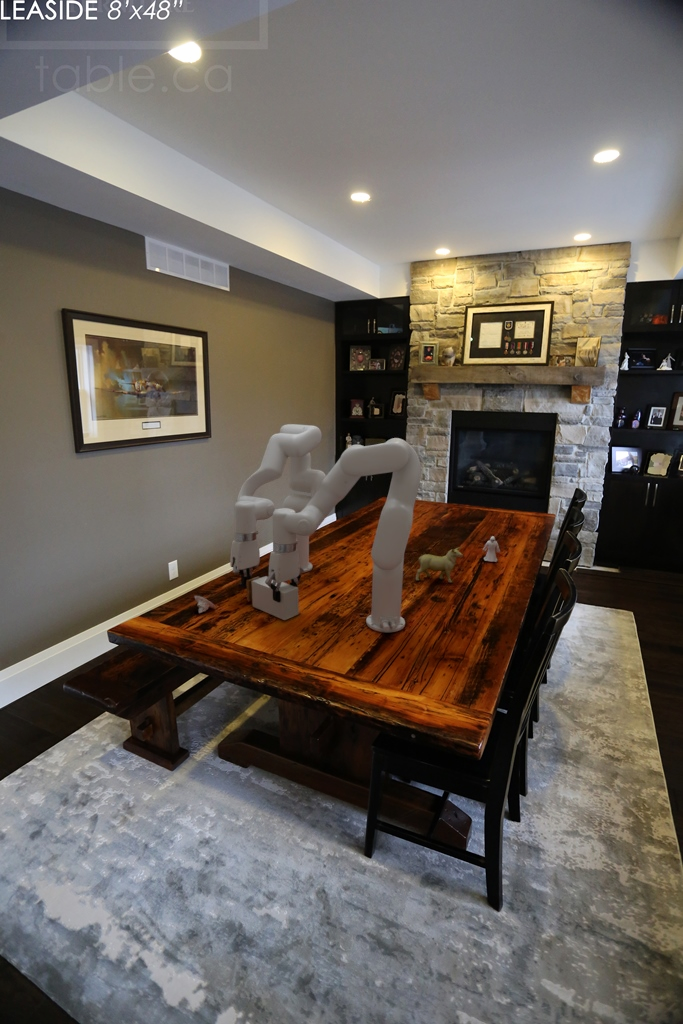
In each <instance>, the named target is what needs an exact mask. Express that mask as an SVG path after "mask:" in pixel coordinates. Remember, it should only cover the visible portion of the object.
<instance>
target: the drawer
mask: <svg viewBox="0 0 683 1024" xmlns="http://www.w3.org/2000/svg"><path fill="white" fill-rule="evenodd" d="M259 578H261V577H260V576H256V577H253V578H252V577H251V579H249V580H246V584H247V587H246V586H243V585H242V583H241V582H240V583H238V585H237V586H238V587H239V588H243V589H246V601H247V602H252V581H253V580H256V579H259Z"/></svg>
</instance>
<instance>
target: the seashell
mask: <svg viewBox="0 0 683 1024" xmlns="http://www.w3.org/2000/svg"><path fill="white" fill-rule="evenodd" d="M193 598H194V601H195V602H196V603H197V605H196V606H197V607H198V609H197V610H198V611H197V612H198V614H201V613H205V612H206V611H207V610H209V608H210V609H213V610H216V609H217V607H216V604H214V603H213V601H210V600H209V599H207V598H206V597H204V596H201V595H194V596H193Z"/></svg>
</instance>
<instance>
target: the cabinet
mask: <svg viewBox="0 0 683 1024" xmlns="http://www.w3.org/2000/svg"><path fill="white" fill-rule="evenodd" d="M267 578H268V576H267V575H265V576H262V577H260V578H259V579H256V580H253V581H252V601H251V603H252V607H253V608H255V609H256V610H257V609H258V610H259V611H263V612H265V613H267V614H269V615H272V616H273V617H276V618H278V619H281V620H282V621H286V620H289V619H292V618H293V617H296V616H299V614H300V607H299V606H300V604H299V603H300V601H299V598H300V597H299V587H298V586H297V587H295V586H292V585H290V583H287V582H282V583H281V585H280V588H279V591H280V594H281V601H280V602H276V601H274V600H273V590H272V589H271V588H270V587H269V586H268V585H267V584H266V583H265V581H266V579H267ZM272 582H273V580H272V581H271V583H272ZM276 585H277V583H276ZM276 585H275V586H276Z"/></svg>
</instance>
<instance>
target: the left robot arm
mask: <svg viewBox="0 0 683 1024" xmlns="http://www.w3.org/2000/svg"><path fill="white" fill-rule="evenodd" d="M322 435H323V433H322V430H321V429H320V427H318V426H316V425H310V424H298V423H297V424H296V423H295V424H293V423H288V424H283V425H282V426H281V427H280V429H279V432H278V433H274V434H272V435H271V436H270V438H269V439H268V442H267V446H266V448H265V451H264V454H263V457H262V460H261V463H260V466H259V468H258V469H257V470H256V471H254V472H253V473H252V474H251V475H250V476H249V477H248V478H246V480H245V481H244V482H243V483H242V485H241V487H240V490H239V492H238V495H237V499H236V501H235V503H234V507H233V512H234V513H233V514H234V515H233V516H234V518H233V519H234V520H233V521H234V540H232V543H231V547H230V558H229V561H230V562H229V566H230V567H231V568H232V573H234V574H238V575H240V583H242V585H243V586H246V587H247V584H246V580H249V579H252V577H251V576H252V575H253V572H254V570H256V569H257V568H259V564H260V561H261V555H260V545H259V539H258V537H257V535H258V534H259V531H258V530H257V521H262V520H263V521H264V520H268V519H270V518H272V517H273V512H274V511H275V510H276V506H275V503H274V502H273V500H271V499H269V498H265V497H259V496H254V494H255V493H256V491H257V490H258V489H259V488H260V487H262V486H264V485H267V484H268V483H271V482H273V481H277V480H278V479H280V478H282V476H283V473H284V469H285V466H286V465H287V464H286V463H287V461H288V458H289V469H288V471H289V472H288V486H289V488H290V489H291V490H292V491H295V492H300V493H307V494H308V493H309V494H310V495H311V496H310V495H304V494H295V493H294V494H289V495H287V496H286V497H285V498H284V500H283V503H282V506H283V507H282V508H289V509H293V510H294V511H295V512H296V513H299V512H301V511H302V510H303V509H304V508H305V507H306V506H307V504H308V503H309V502H310V501H311V499H312V498H313V497H314V496H315V494H316V493H317V491H318V490H319V488H320V486H321V483H322V481H323V480H324V478H325V477H326V476H327V474H326V473H325V472H324V471H322V470H320V469H313V468H312V455H311V452H312V451H314V450H315V449H316V448H317V447H318V446H319V445H320V443H321V442H322V437H323V436H322ZM296 540H297V541H298V544H296V549H297V550H298V555H299V564H300V567H301V568H302V569H303V570H304V572H303V574H304V573H307V572H310V571H311V570H313V567H314V566H313V564H312V562H310V535H309V536H302V535H298V534H296Z"/></svg>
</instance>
